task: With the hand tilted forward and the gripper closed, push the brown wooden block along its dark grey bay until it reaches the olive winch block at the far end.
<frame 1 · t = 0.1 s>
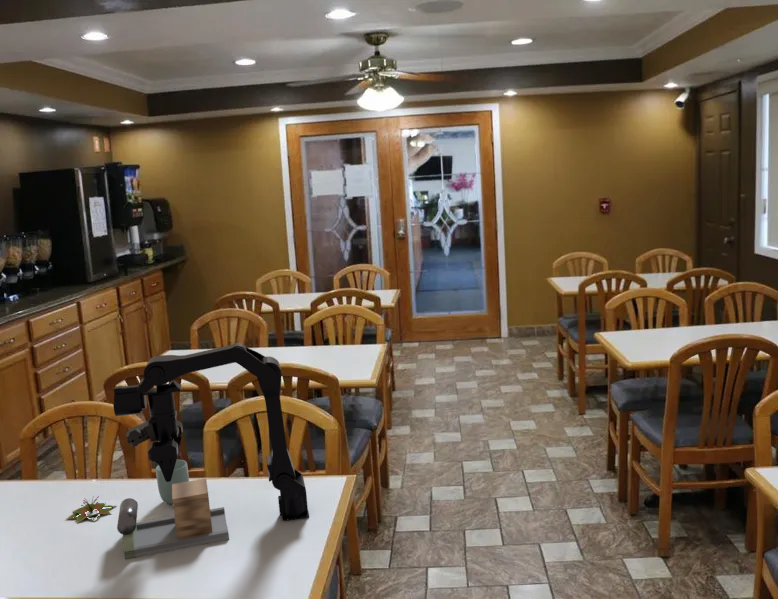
hand: (170, 473, 175), 15 cm above the table, tool pointing down, fingers open, 9 cm apart
brown wooden block: (192, 508, 176), point 6 cm above the table, slide at 0.0 cm
bay: (177, 535, 176), on the table
lily flower: (92, 515, 191), on the table
cup: (175, 501, 195), on the table
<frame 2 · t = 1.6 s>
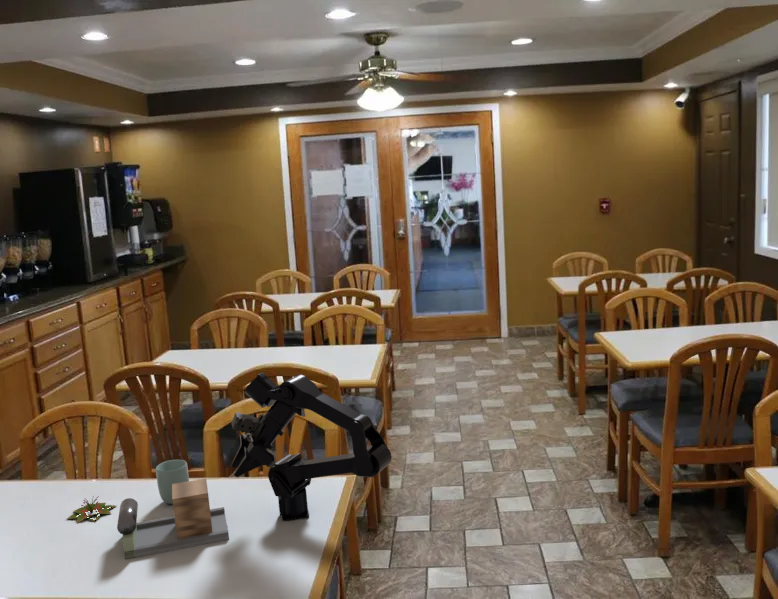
hand: (233, 471, 177), 14 cm above the table, tool tilted 45°, fingers open, 6 cm apart
nothing on the table moved.
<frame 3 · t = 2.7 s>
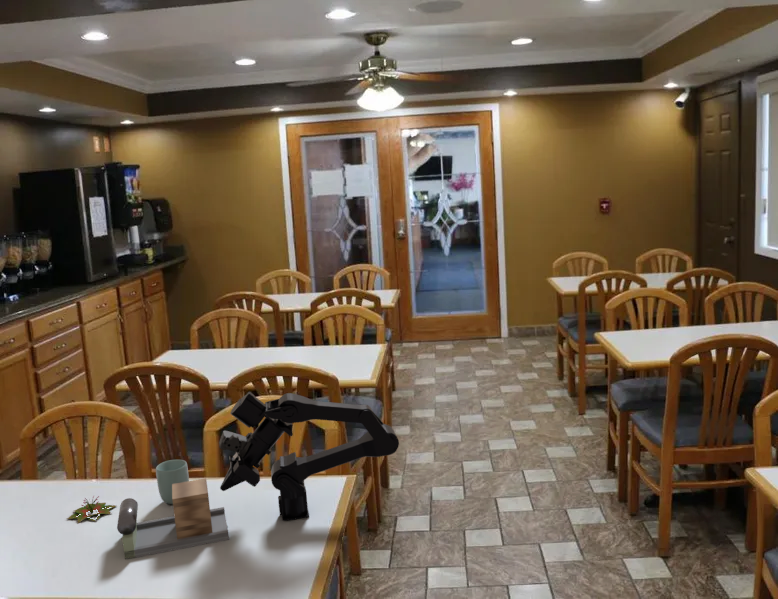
hand: (221, 489, 178), 9 cm above the table, tool tilted 45°, fingers closed
nothing on the table moved.
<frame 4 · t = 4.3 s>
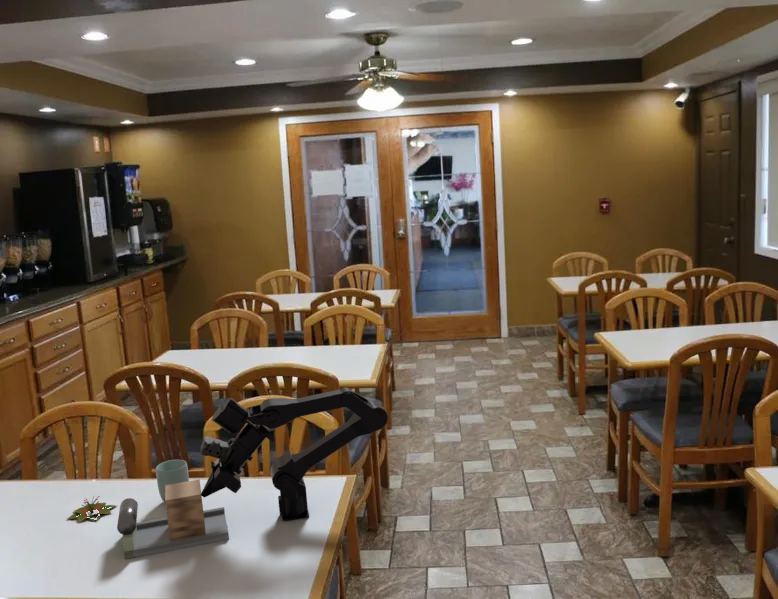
hand: (202, 495, 176), 9 cm above the table, tool tilted 45°, fingers closed, pressing on brown wooden block
brown wooden block: (185, 509, 176), point 6 cm above the table, slide at 1.6 cm, touching gripper
everything else where it was.
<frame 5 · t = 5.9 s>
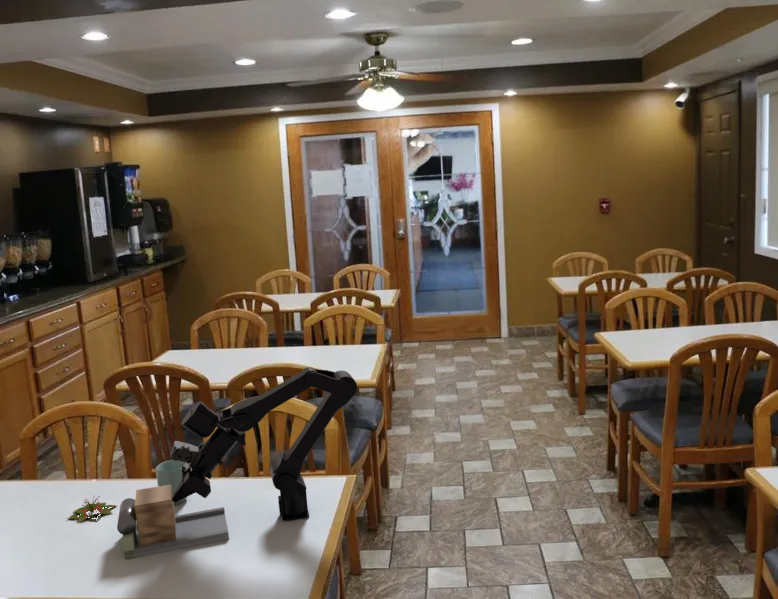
hand: (173, 501, 175), 9 cm above the table, tool tilted 45°, fingers closed, pressing on brown wooden block
brown wooden block: (156, 514, 174), point 6 cm above the table, slide at 8.2 cm, touching gripper
everything else where it was.
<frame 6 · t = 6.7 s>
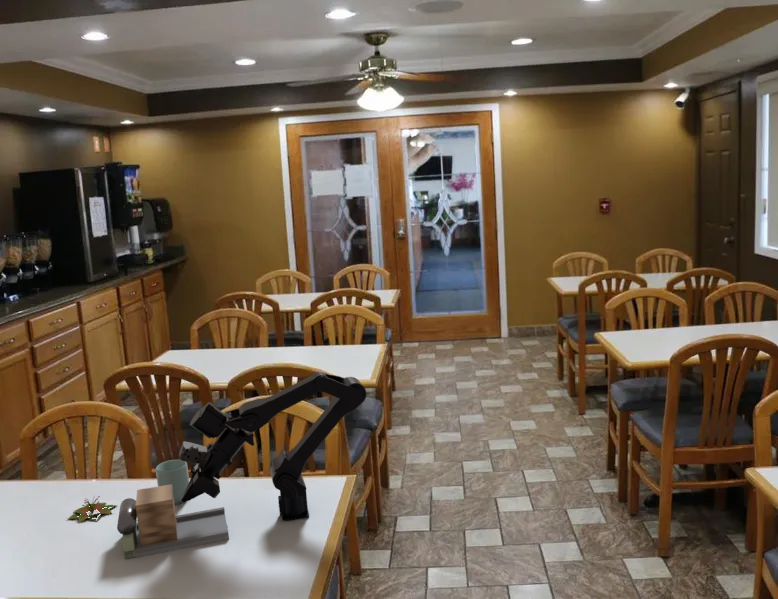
hand: (182, 501, 175), 8 cm above the table, tool tilted 45°, fingers closed
brown wooden block: (156, 514, 174), point 6 cm above the table, slide at 8.0 cm
everything else where it was.
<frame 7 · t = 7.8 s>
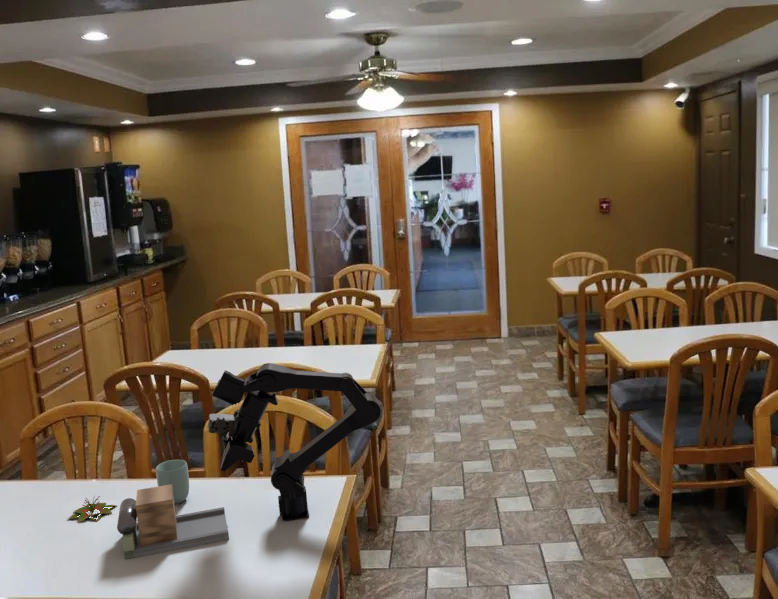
hand: (222, 470, 179), 14 cm above the table, tool tilted 30°, fingers closed
nothing on the table moved.
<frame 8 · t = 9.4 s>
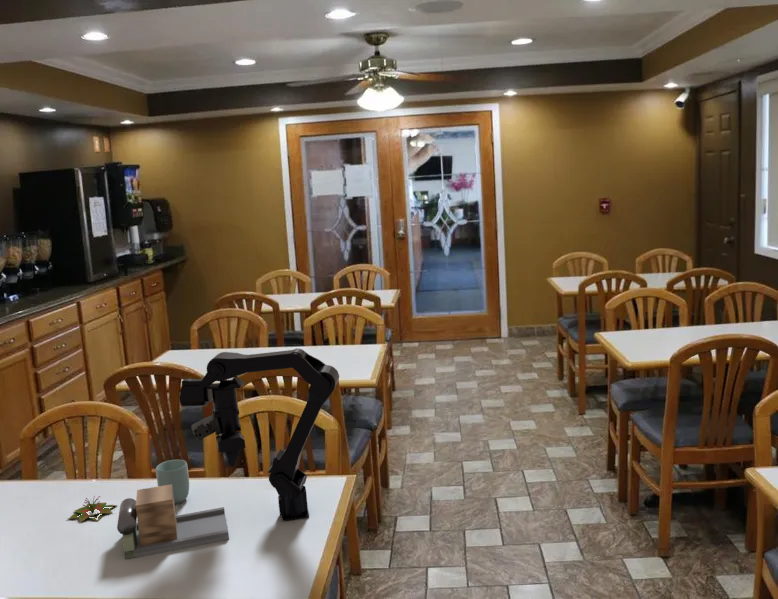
hand: (232, 466, 182), 13 cm above the table, tool pointing down, fingers closed
nothing on the table moved.
at the end: brown wooden block slide at 8.0 cm; cup moved 0.2 cm from its start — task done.
